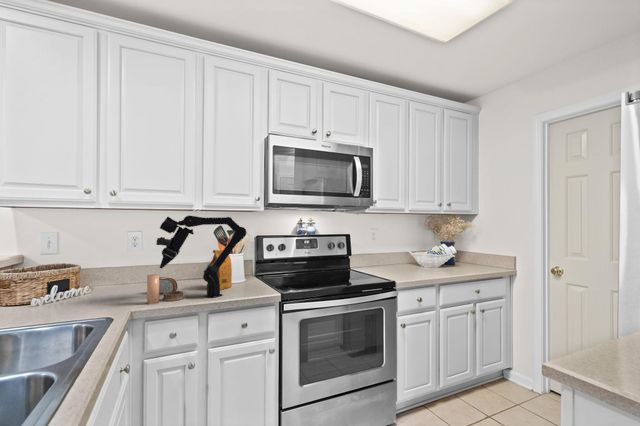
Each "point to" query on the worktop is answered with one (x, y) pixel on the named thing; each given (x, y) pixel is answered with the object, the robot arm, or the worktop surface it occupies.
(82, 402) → the worktop surface
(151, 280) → the canister
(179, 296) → the holder
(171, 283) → the tin
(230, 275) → the coffee package
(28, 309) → the worktop surface
